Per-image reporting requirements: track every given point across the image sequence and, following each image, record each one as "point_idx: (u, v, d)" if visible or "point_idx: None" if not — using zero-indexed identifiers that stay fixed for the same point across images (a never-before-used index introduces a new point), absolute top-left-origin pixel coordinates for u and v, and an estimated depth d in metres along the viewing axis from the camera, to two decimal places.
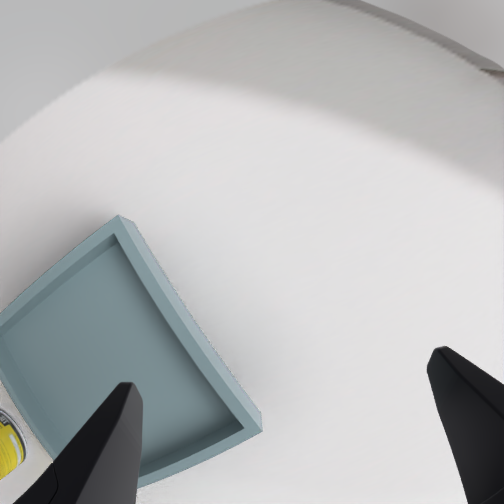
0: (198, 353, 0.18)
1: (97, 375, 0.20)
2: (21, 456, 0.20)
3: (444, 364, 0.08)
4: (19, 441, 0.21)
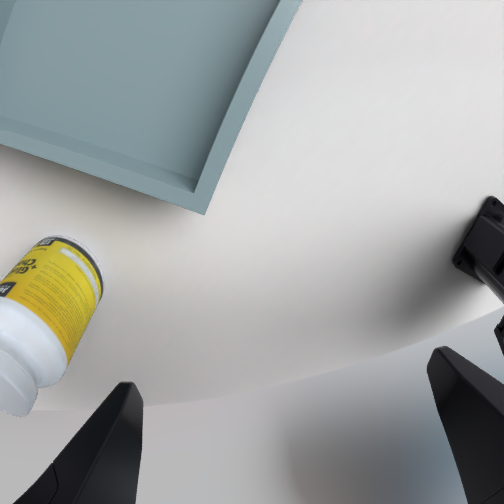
0: None
1: (110, 9, 0.11)
2: (93, 273, 0.20)
3: (444, 364, 0.08)
4: (78, 252, 0.19)
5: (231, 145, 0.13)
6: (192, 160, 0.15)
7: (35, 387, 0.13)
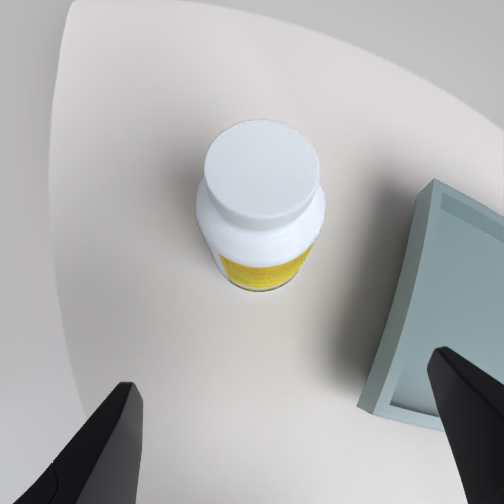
0: None
1: (484, 319, 0.19)
2: (273, 287, 0.21)
3: (444, 364, 0.08)
4: (295, 274, 0.22)
5: (419, 425, 0.15)
6: None
7: (249, 227, 0.13)
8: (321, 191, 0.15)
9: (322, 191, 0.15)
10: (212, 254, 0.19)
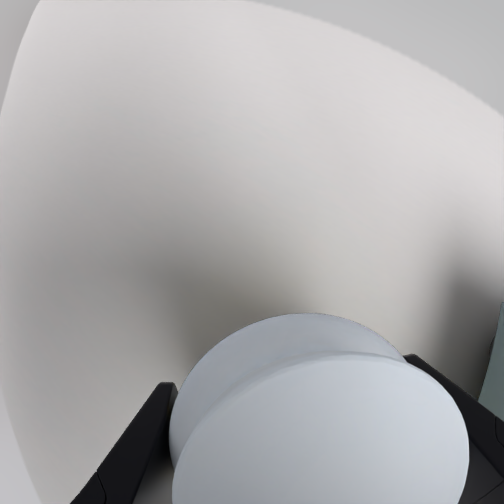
0: None
1: None
2: None
3: None
4: None
5: None
6: None
7: None
8: None
9: None
10: None
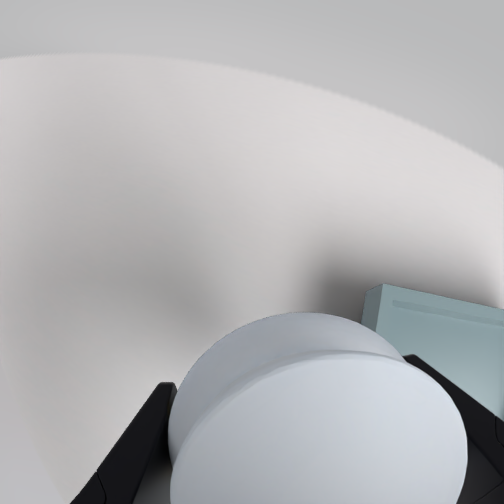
0: None
1: None
2: None
3: None
4: None
5: None
6: None
7: None
8: None
9: None
10: None
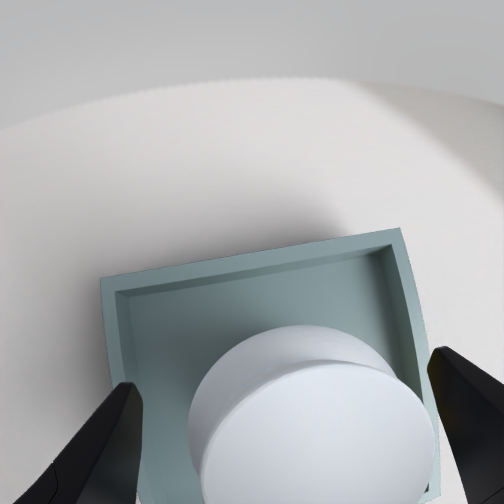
0: (431, 403, 0.14)
1: None
2: None
3: (444, 364, 0.08)
4: None
5: None
6: None
7: None
8: None
9: None
10: None
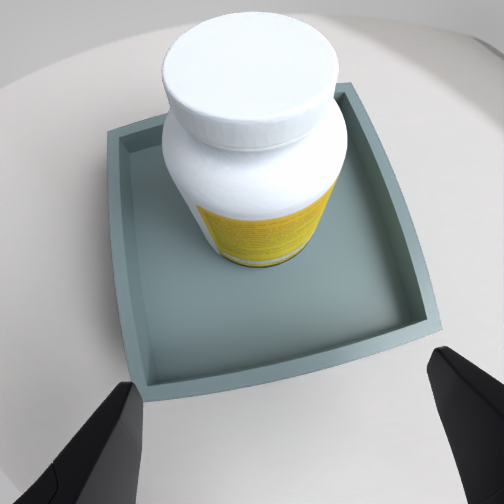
0: (406, 215, 0.16)
1: None
2: (279, 260, 0.16)
3: (444, 364, 0.08)
4: (306, 243, 0.16)
5: (200, 393, 0.14)
6: (171, 367, 0.16)
7: (234, 148, 0.08)
8: (339, 111, 0.10)
9: (340, 112, 0.10)
10: None
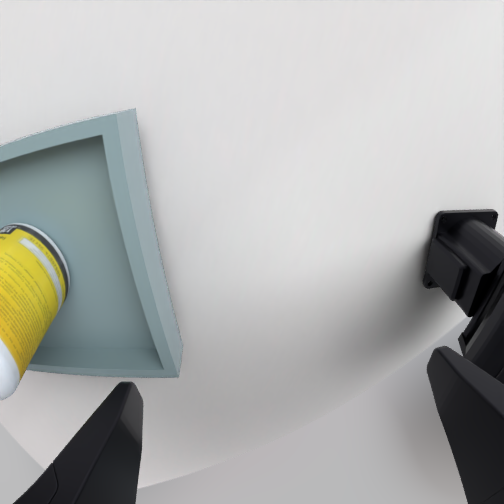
0: (7, 149, 0.12)
1: None
2: (56, 270, 0.16)
3: (444, 364, 0.08)
4: (41, 244, 0.15)
5: (165, 341, 0.18)
6: None
7: None
8: None
9: None
10: None
